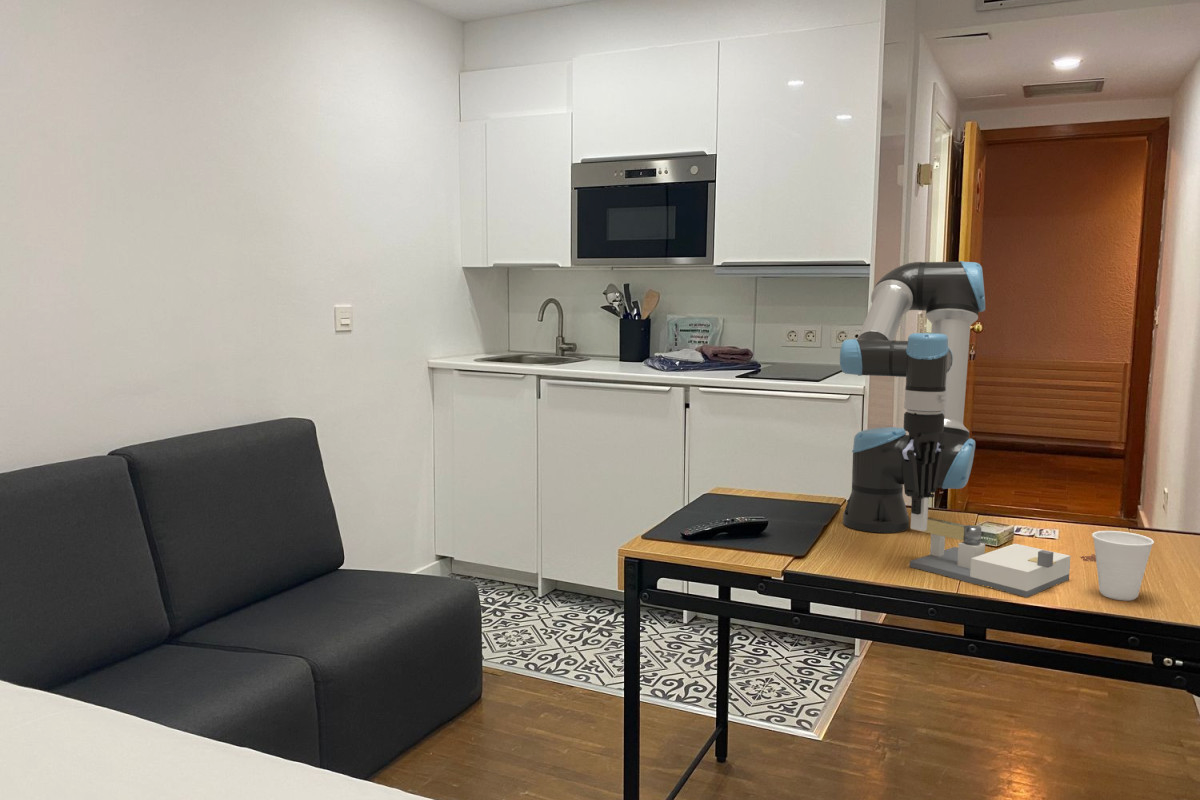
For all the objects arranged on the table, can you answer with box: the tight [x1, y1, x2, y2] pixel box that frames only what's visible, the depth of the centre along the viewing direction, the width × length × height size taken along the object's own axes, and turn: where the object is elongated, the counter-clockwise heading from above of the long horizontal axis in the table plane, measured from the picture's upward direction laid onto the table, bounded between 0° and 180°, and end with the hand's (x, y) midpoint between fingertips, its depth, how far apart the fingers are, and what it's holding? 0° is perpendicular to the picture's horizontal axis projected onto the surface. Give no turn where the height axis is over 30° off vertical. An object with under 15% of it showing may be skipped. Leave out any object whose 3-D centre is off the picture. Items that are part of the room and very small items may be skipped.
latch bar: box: [912, 516, 982, 544], centre depth 186 cm, size 15×3×3 cm, turn 39°
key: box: [1080, 553, 1096, 563], centre depth 187 cm, size 6×1×15 cm
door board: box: [908, 533, 1071, 598], centre depth 181 cm, size 25×17×7 cm
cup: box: [1091, 530, 1155, 602], centre depth 168 cm, size 10×10×11 cm
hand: (918, 529), depth 183 cm, fingers closed
